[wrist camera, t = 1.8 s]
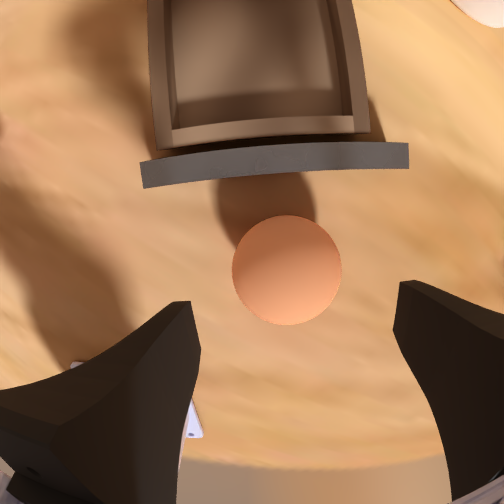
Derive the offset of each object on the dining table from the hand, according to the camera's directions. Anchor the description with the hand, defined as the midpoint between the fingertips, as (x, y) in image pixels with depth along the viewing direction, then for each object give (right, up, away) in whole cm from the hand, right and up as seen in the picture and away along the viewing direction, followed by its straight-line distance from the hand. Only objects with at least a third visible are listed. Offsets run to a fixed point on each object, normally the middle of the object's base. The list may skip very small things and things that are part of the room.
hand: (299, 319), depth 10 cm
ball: (0, +2, +6) cm, 7 cm away
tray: (-1, +12, +3) cm, 13 cm away
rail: (0, +7, +5) cm, 8 cm away
